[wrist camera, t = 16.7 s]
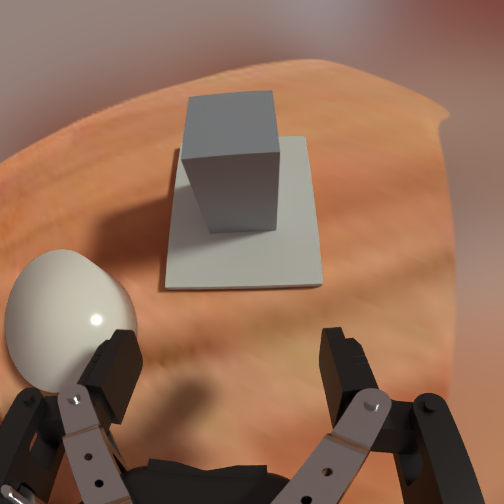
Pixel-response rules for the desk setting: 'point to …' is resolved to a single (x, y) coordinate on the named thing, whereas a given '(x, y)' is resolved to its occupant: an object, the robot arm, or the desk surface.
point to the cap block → (233, 160)
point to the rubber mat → (248, 236)
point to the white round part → (63, 317)
